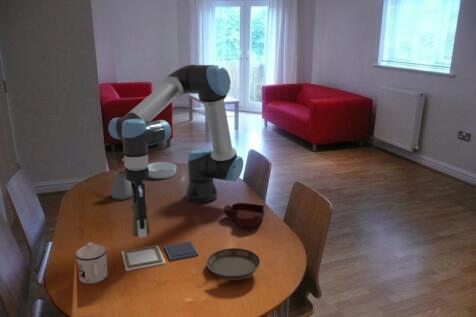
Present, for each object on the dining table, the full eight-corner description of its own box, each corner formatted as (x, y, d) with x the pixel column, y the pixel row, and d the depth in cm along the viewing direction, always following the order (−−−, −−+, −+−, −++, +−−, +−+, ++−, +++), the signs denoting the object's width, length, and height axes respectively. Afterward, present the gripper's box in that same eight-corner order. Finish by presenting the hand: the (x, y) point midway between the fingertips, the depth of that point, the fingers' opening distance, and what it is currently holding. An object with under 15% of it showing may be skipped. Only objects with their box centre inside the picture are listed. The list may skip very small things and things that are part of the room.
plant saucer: (218, 289, 125) (217, 280, 124) (199, 262, 141) (199, 253, 140) (269, 276, 132) (269, 267, 131) (246, 251, 147) (246, 244, 147)
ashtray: (275, 223, 171) (276, 212, 170) (242, 232, 163) (242, 220, 162) (252, 209, 186) (252, 198, 185) (221, 216, 178) (221, 205, 177)
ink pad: (191, 243, 153) (191, 240, 153) (198, 255, 144) (198, 252, 144) (164, 247, 150) (164, 244, 149) (170, 260, 141) (170, 257, 140)
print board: (158, 246, 150) (158, 244, 150) (165, 263, 139) (165, 260, 138) (121, 253, 146) (121, 250, 146) (125, 271, 134) (125, 268, 134)
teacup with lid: (76, 273, 133) (72, 240, 130) (105, 266, 137) (102, 234, 134) (82, 292, 123) (78, 257, 120) (113, 284, 127) (110, 250, 124)
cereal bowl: (150, 185, 218) (149, 172, 216) (142, 176, 232) (141, 164, 230) (181, 180, 225) (180, 168, 224) (171, 172, 240) (170, 160, 238)
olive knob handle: (146, 237, 136) (143, 206, 133) (129, 236, 137) (126, 205, 135) (153, 229, 142) (151, 200, 139) (137, 228, 143) (134, 198, 140)
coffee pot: (138, 199, 197) (136, 169, 193) (113, 204, 192) (111, 173, 188) (126, 186, 215) (124, 159, 211) (104, 190, 210) (101, 162, 206)
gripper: (121, 161, 141) (126, 223, 147) (128, 176, 124) (133, 246, 130) (143, 159, 143) (147, 220, 150) (153, 174, 126) (157, 242, 132)
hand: (141, 232), depth 140 cm, fingers closed on olive knob handle, 6 cm apart
